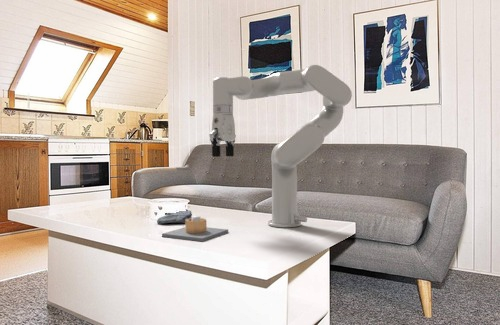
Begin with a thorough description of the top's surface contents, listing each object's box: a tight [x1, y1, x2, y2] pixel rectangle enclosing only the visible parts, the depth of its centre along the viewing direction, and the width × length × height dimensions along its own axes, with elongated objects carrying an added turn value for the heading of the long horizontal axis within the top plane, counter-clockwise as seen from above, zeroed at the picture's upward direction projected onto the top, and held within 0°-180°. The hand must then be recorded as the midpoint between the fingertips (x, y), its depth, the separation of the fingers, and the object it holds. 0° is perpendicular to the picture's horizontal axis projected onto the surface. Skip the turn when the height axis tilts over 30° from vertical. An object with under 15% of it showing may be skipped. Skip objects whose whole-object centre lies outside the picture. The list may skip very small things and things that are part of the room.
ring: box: [184, 217, 207, 234], centre depth 136 cm, size 7×7×4 cm
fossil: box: [156, 208, 193, 225], centre depth 163 cm, size 13×18×4 cm
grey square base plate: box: [161, 215, 229, 242], centre depth 136 cm, size 16×16×6 cm
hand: (223, 156), depth 152 cm, fingers open, 9 cm apart
